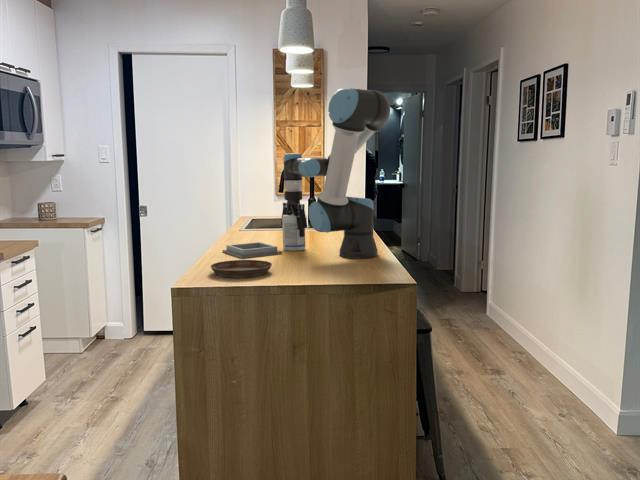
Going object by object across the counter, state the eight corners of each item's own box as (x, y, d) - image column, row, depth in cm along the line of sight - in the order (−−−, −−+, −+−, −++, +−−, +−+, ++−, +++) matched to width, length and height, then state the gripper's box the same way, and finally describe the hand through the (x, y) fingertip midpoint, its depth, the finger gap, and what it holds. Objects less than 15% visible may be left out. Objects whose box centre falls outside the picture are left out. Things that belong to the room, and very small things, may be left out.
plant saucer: (214, 268, 201) (214, 259, 200) (272, 267, 202) (272, 258, 202) (207, 281, 180) (206, 270, 180) (271, 279, 182) (271, 269, 181)
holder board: (281, 253, 228) (281, 246, 228) (241, 258, 218) (241, 250, 218) (261, 248, 243) (260, 241, 243) (222, 252, 233) (222, 245, 233)
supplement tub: (309, 249, 238) (309, 215, 236) (290, 252, 233) (289, 216, 231) (297, 246, 246) (297, 213, 244) (278, 249, 241) (278, 214, 239)
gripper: (315, 191, 228) (315, 245, 232) (287, 189, 247) (288, 239, 250) (299, 192, 224) (300, 247, 228) (272, 189, 243) (273, 240, 246)
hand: (294, 242), depth 239 cm, fingers open, 10 cm apart
